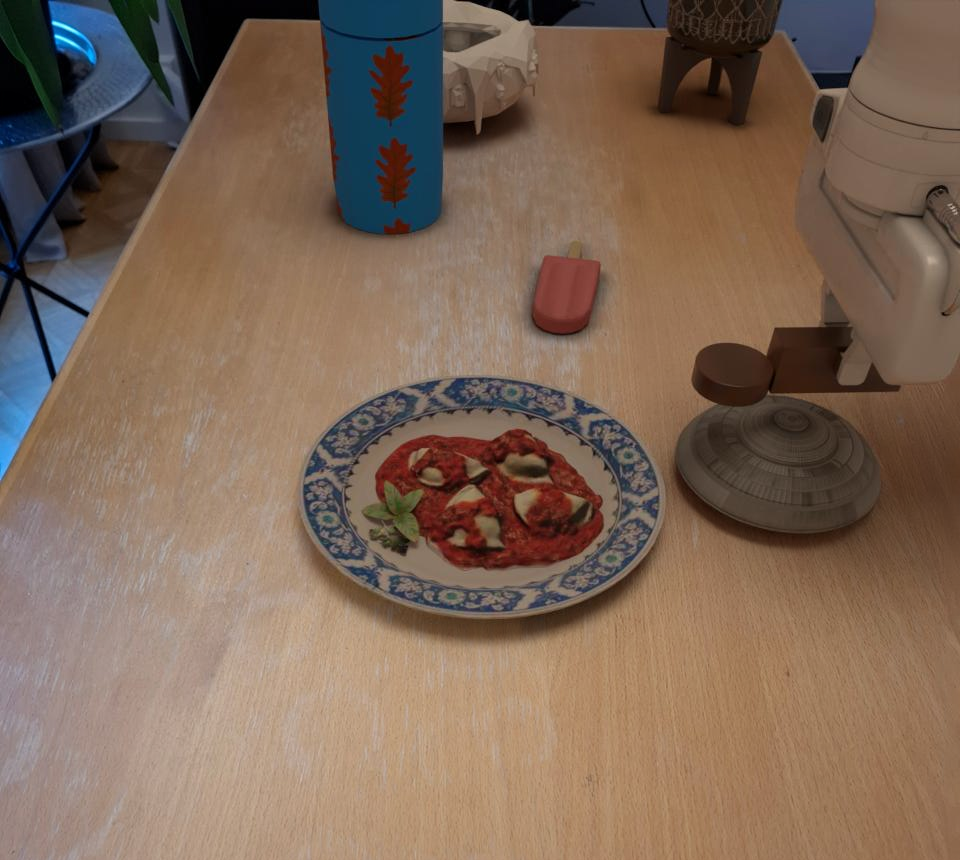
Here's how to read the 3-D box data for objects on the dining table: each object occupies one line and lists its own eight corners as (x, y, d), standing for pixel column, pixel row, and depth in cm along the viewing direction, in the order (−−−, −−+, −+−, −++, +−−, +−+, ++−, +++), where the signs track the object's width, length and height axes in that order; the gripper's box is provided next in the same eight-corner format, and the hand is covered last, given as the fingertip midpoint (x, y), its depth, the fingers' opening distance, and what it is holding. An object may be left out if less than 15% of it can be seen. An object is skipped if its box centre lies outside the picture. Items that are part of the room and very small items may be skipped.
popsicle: (605, 237, 94) (589, 322, 85) (603, 253, 95) (587, 338, 86) (550, 231, 95) (527, 314, 85) (548, 247, 96) (526, 331, 86)
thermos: (344, 239, 96) (319, -70, 77) (328, 189, 103) (302, -106, 84) (453, 229, 98) (456, -74, 79) (431, 181, 105) (429, -110, 86)
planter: (663, 80, 124) (690, -91, 111) (766, 97, 122) (806, -76, 108) (639, 119, 116) (665, -60, 103) (748, 138, 114) (789, -43, 100)
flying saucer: (809, 404, 80) (829, 344, 76) (916, 525, 71) (945, 465, 67) (640, 435, 77) (651, 375, 73) (728, 566, 68) (747, 505, 64)
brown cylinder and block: (880, 360, 70) (898, 314, 67) (906, 404, 67) (926, 358, 64) (683, 362, 69) (694, 316, 66) (700, 407, 66) (711, 360, 63)
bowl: (321, 115, 115) (313, 17, 107) (440, 67, 125) (439, -25, 118) (456, 171, 106) (457, 69, 99) (571, 115, 117) (580, 19, 109)
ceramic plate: (600, 382, 82) (605, 350, 79) (714, 608, 65) (724, 577, 63) (285, 415, 77) (280, 383, 75) (322, 666, 61) (317, 635, 59)
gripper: (1046, 241, 50) (940, 459, 60) (903, 82, 63) (837, 284, 74) (924, 242, 49) (839, 462, 60) (806, 82, 63) (754, 284, 73)
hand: (837, 362), depth 67 cm, fingers closed on brown cylinder and block, 2 cm apart
